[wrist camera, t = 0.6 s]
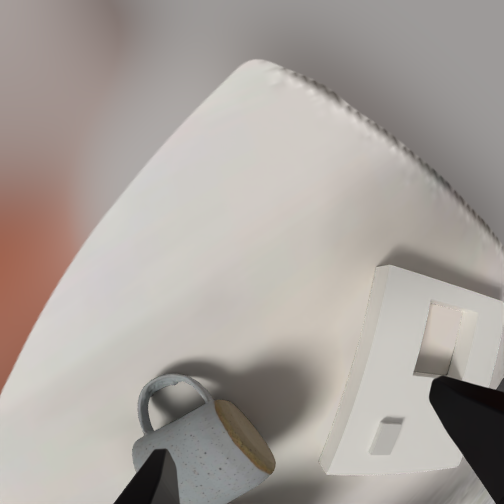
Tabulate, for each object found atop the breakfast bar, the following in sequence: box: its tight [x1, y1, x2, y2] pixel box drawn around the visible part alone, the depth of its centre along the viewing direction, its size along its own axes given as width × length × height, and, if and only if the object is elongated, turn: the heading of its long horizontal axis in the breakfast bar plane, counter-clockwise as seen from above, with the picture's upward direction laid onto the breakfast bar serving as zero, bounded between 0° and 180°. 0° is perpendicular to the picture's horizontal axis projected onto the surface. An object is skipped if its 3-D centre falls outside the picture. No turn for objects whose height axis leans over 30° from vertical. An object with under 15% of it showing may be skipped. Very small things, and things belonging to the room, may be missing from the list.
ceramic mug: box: [132, 373, 276, 504], centre depth 19 cm, size 11×8×8 cm
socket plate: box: [319, 265, 504, 475], centre depth 23 cm, size 18×16×3 cm
